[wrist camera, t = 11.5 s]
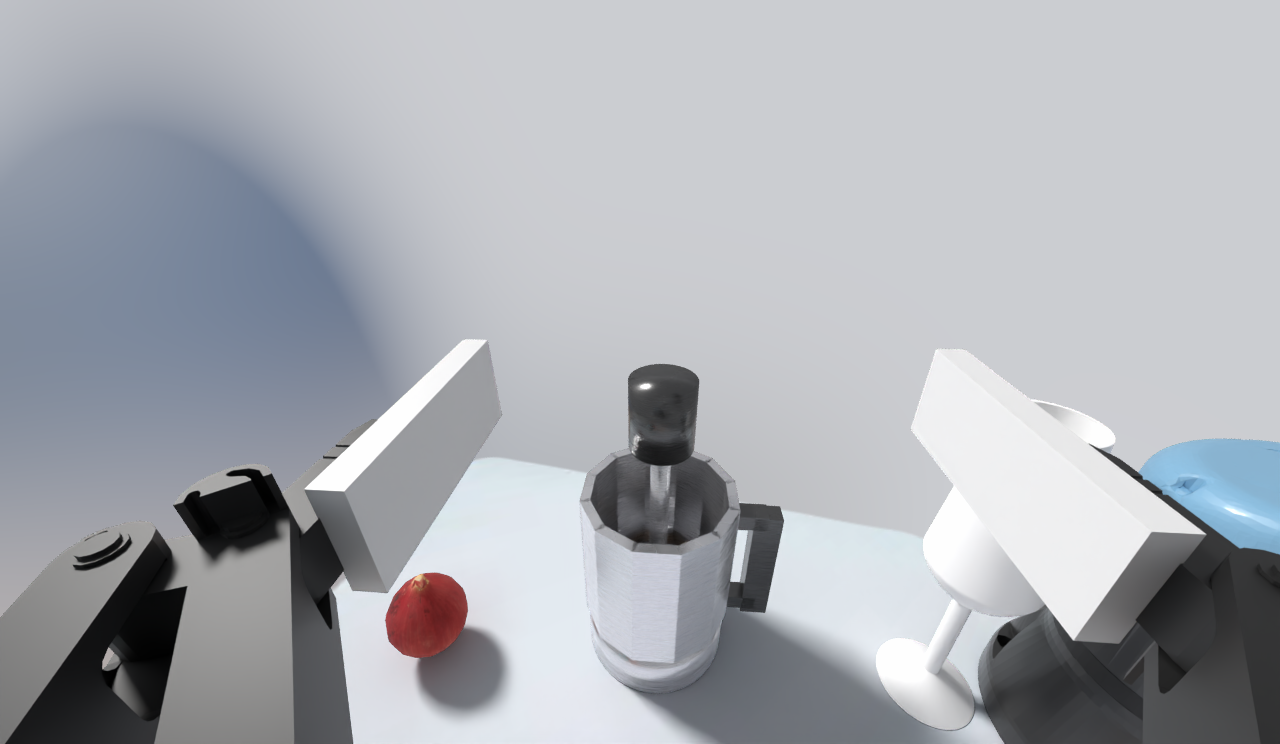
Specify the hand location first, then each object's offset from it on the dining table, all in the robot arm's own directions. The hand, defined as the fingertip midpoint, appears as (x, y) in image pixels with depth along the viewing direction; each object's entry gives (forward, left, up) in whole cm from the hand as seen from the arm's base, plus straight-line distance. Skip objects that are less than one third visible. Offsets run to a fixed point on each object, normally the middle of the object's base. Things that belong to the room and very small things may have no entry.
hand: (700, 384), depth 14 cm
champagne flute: (-20, -10, -31) cm, 38 cm away
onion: (+19, -10, -31) cm, 38 cm away
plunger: (+1, -13, -26) cm, 29 cm away
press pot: (0, -13, -31) cm, 33 cm away
